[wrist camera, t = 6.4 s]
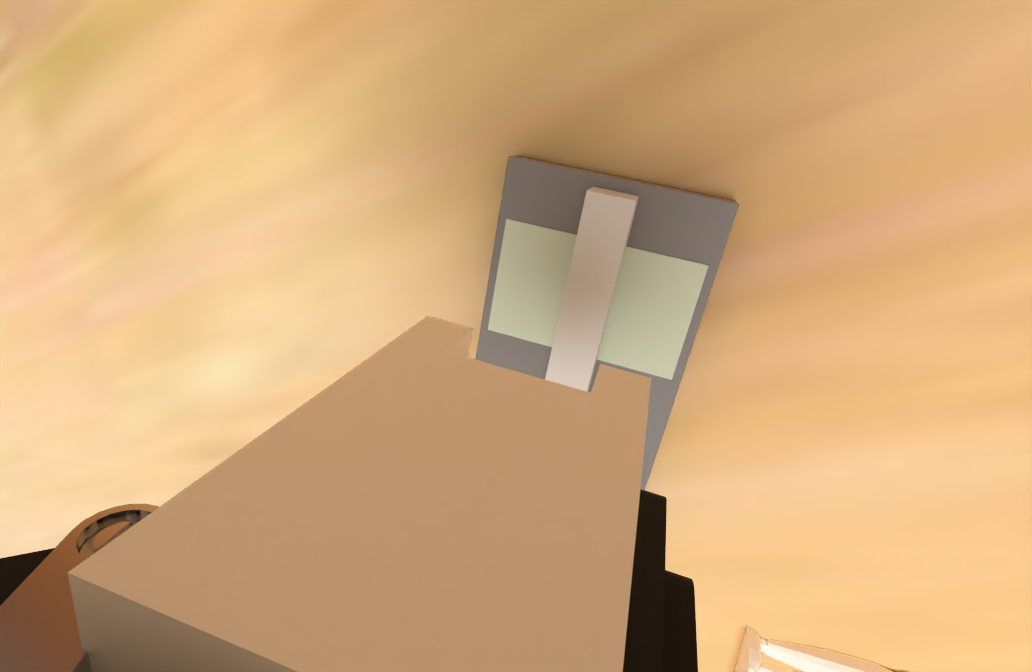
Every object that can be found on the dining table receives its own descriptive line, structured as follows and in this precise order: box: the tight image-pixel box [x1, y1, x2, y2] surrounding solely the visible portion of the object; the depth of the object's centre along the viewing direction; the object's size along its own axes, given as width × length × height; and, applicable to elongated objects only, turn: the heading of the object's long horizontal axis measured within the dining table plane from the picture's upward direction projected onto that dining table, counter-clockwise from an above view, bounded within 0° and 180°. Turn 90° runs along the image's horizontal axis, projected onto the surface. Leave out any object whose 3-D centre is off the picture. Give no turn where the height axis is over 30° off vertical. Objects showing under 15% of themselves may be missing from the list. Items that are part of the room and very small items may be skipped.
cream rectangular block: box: [68, 316, 651, 672], centre depth 10 cm, size 6×6×9 cm
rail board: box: [476, 156, 739, 490], centre depth 24 cm, size 25×10×11 cm, turn 170°
